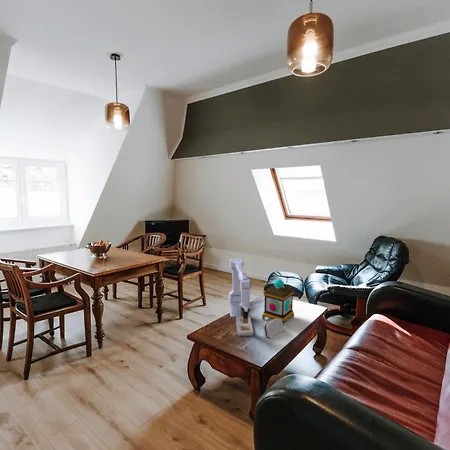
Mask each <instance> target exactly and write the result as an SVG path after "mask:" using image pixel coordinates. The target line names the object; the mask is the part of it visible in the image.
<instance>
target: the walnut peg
mask: <svg viewBox="0 0 450 450" xmlns="http://www.w3.org/2000/svg"><path fill="white" fill-rule="evenodd" d="M241 317H242V322H243V324H248V317H249V316H248V317H247V319H244V317H243V312H242V311H241Z"/></svg>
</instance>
